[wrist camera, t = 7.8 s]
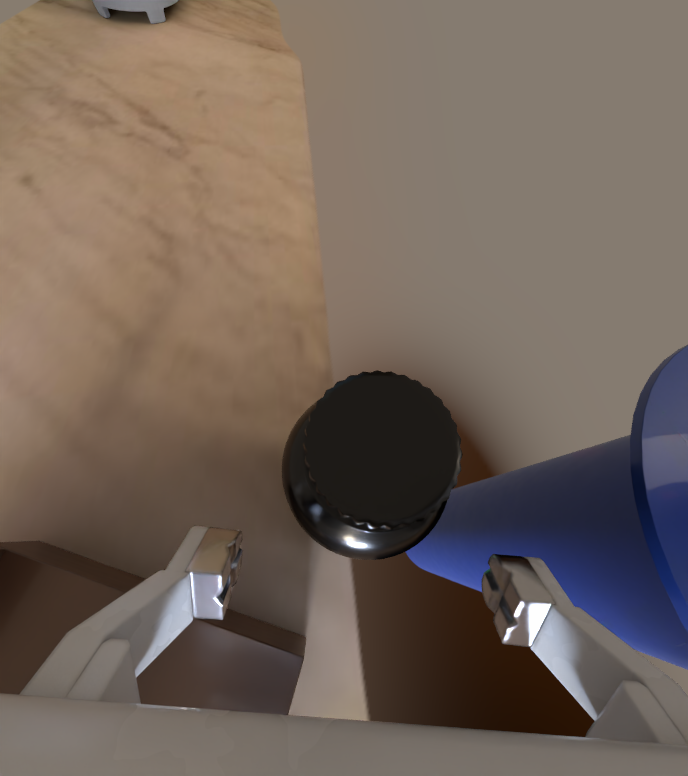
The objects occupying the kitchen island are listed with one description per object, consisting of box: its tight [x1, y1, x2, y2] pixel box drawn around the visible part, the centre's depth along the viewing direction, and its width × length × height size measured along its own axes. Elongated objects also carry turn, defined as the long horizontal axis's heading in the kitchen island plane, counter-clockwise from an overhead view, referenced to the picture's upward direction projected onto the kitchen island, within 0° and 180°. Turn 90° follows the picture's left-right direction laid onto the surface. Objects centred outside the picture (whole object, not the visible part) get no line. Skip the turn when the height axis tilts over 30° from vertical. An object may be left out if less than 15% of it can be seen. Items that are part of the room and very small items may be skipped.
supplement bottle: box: [282, 371, 462, 560], centre depth 15 cm, size 7×7×12 cm
